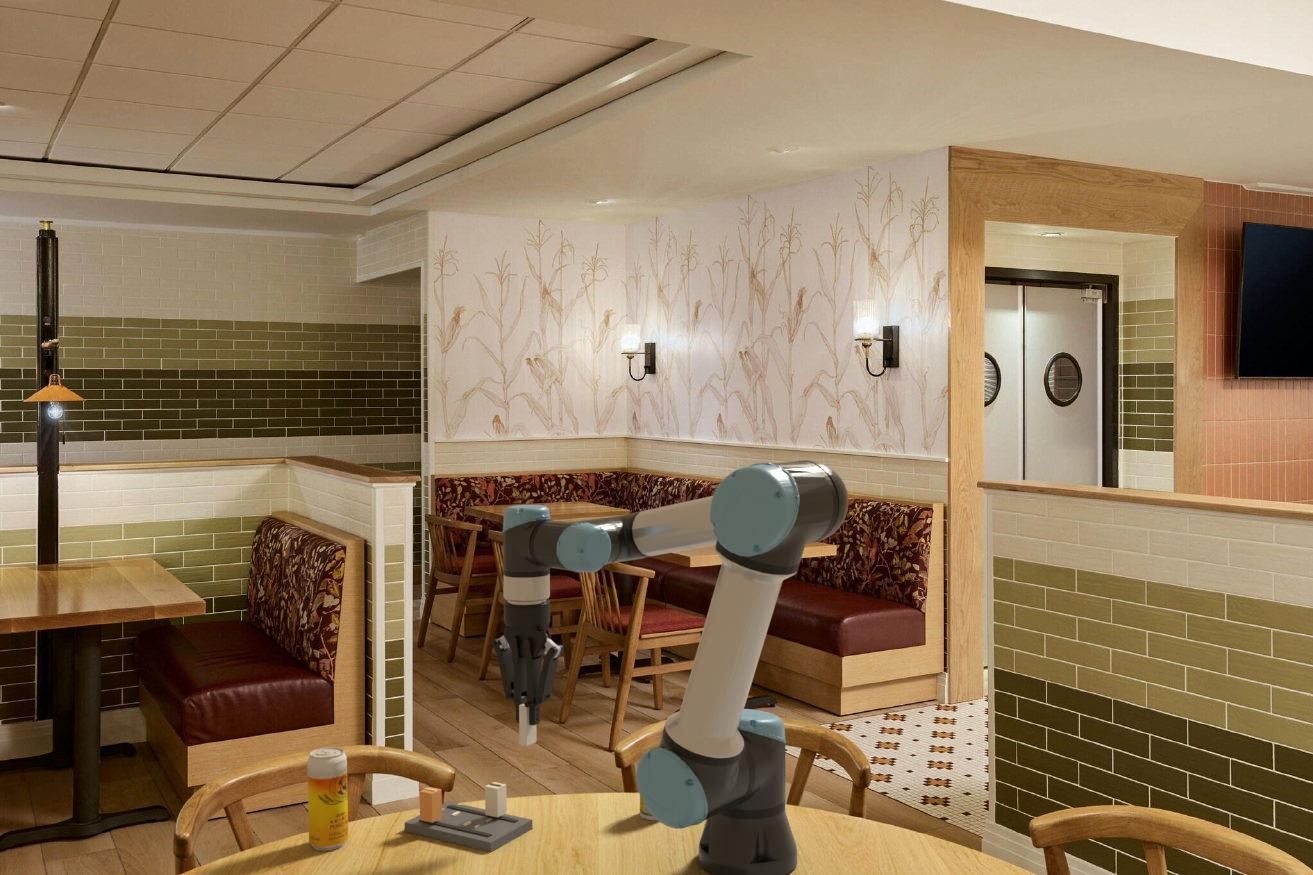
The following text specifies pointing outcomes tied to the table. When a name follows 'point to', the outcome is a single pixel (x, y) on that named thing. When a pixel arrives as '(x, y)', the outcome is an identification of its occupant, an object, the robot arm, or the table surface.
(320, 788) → the beer can
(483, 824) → the console
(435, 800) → the orange fader
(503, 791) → the cream fader
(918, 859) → the table surface
